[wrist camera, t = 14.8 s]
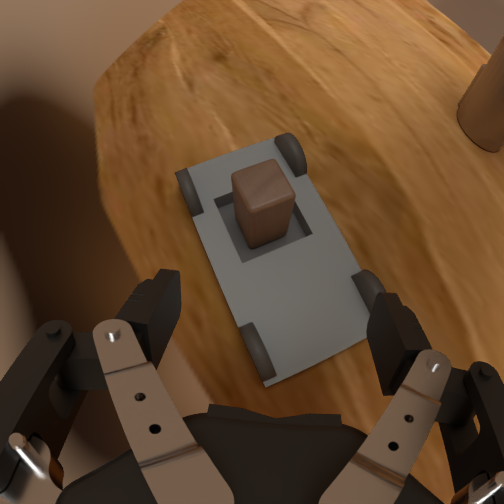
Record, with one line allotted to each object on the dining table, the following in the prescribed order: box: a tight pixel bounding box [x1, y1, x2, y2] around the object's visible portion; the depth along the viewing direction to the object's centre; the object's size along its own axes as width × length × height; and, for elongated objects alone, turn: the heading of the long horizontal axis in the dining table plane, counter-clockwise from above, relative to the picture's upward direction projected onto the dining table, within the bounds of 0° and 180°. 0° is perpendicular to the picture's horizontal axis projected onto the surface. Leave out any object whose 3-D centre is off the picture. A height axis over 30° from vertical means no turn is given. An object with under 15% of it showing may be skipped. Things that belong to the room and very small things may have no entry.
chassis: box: [175, 133, 386, 387], centre depth 29 cm, size 22×12×5 cm, turn 24°
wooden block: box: [231, 159, 296, 248], centre depth 28 cm, size 4×4×8 cm
